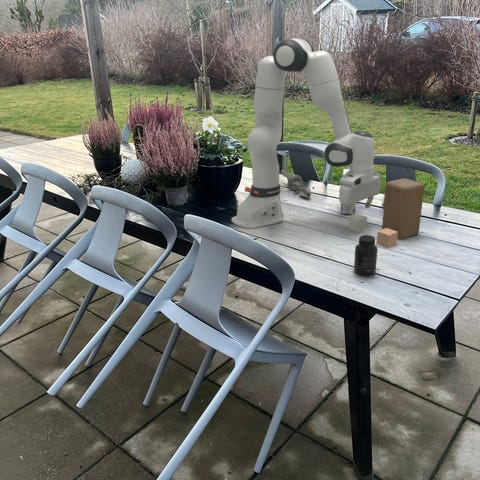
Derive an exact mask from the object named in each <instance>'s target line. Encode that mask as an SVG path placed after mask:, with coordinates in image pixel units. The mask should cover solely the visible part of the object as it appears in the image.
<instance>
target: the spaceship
mask: <svg viewBox="0 0 480 480" xmlns="http://www.w3.org/2000/svg"><path fill="white" fill-rule="evenodd" d="M280 174H281V175H282V176H283V177H284V178H286V179H287V184H286V185H287V188H288V189H289V190H291V191H295V193H296V194H297V195H299V196H303V197H306V198H311V196H312V191H311V188H310V187H307V186H306V185H305V184H304V183H305V181H303V178H302V176H300V175H298V174H293V173H291V174H288V172H287V170H286V169H283V168H282V169H281V171H280Z"/></svg>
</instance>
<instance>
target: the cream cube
mask: <svg viewBox="0 0 480 480" xmlns="http://www.w3.org/2000/svg"><path fill="white" fill-rule="evenodd" d="M347 218H348V220H347V221H348V222H347V223H348V224H347V229H349V230H352V231H355V232H361V231H363V230H365V229H367V223H368V216H366V215H363V214H361V213H355V214H354V215H353V214H350V215H349V216H348V217H347Z"/></svg>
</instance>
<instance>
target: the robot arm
mask: <svg viewBox="0 0 480 480" xmlns="http://www.w3.org/2000/svg"><path fill="white" fill-rule="evenodd" d="M289 72H290V73H291V72H293V73H294V72H295V73H297V72H298V73H299V72H301V73H303V74H304V76H305V79H306V82H307V87H308V91H309V94H310V98H311V101H312V102H313V105H315V107H317V108H319V109H321V110H323V111H324V112H325V113H327V115H328V116H329V118H330V121H331V124H332V129H333V132H334V136H335V137H334V138H335V140H333V141H332V142H330V143H329V144H328V145H327V146H326V147H325V149H324V152H323V155H324V159H325V162H326V163H327V164H328V165H329V166H331V167H334V168H337V167H346V166H349V169H350V170H349V171H348V172H347V173H346V174H345V175H344V176H343V175H342V176H341V177H340V178H339V183H340V185H339V192H338V193H339V194H338V201H339V203H340V204H343V205H347V207H348V209H349V214H348V215H353V213H355V214H356V208H355V209H353V204H354V203H355V204H356V203H358V202H361V201H363V200H366V202H365V203H364V207H365V209H366V208H367V209H369V208H371V207H372V203H373V200H374V197H375V196H378V195H379V194H380V193H381V191H382V190H381V186H382V185H381V178H380V173H379V172H378V171H377V170H374V169H375V167H374V159H375V156H376V155H375V154H376V148H375V137H374V136H373V134H371V133H370V132H367V131H365V130H363V131H362V130H356V131H353V130H352V127H351V124H350V120H349V115H348V112H347V109H346V106H345V103H344V99H343V95H342V90H341V84H340V79H339V74H338V71H337V67H336V64H335V62H334V60H333V57H332V55H331V53H330V52H328V51H325V50H317V51H314V47H313V45H312V44H311V43H310V42H309V41H308V40H307V39H305V38H299V37H293V38H292V37H291V38H287V39H283V40H281V41H280V42H278V44H277V45H276V46H275V48H274V50H273V55H268V56H264V57H263V58H261V60H260V62H259V64H258V68H257V73H256V78H255V85H254V86H255V88H254V100H253V101H254V102H253V109H254V110H253V111H254V119H255V123H254V128H253V129H252V130H251V131H250V133H249V135H248V137H247V141H246V144H247V148H248V151H249V157H250V162H251V173H252V184H251V186H250V187H248V186H245V187H244V192H245V193H249V195H248V196H247V197H246V198H245V199H244V200H243V201H241V203H240V204H239V205H238V207H237V210H236V216H233V217H231V222H232V224H234V225H236V226H239V227H241V228H245V229H252V230H253V229H256V228H260V227H265V226H270V225H274V224H280V223H282V222H283V218H284V214H283V209H282V205H281V197H280V196H281V195H280V194H281V183H280V165H279V160H278V152H277V148H278V147H277V146H278V145H279V143H280V142H281V140H282V134H283V133H282V131H283V104H284V103H283V101H284V93H285V85H286V84H285V82H286V81H285V80H286V77H287V75H288V74H289Z"/></svg>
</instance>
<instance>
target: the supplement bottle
mask: <svg viewBox="0 0 480 480" xmlns="http://www.w3.org/2000/svg"><path fill="white" fill-rule="evenodd" d="M375 241H376V238H375V236H373V235H368V234H364V235H360V236H359V237H358V243H357V244H356V246H355V249H354V262H353V263H354V264H353V266H354V267H353V272H355V274H356V275H359V276H361V277H371V276H373V275H375V274H376V271H377V261H378V247H377V245H376V242H375Z"/></svg>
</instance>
